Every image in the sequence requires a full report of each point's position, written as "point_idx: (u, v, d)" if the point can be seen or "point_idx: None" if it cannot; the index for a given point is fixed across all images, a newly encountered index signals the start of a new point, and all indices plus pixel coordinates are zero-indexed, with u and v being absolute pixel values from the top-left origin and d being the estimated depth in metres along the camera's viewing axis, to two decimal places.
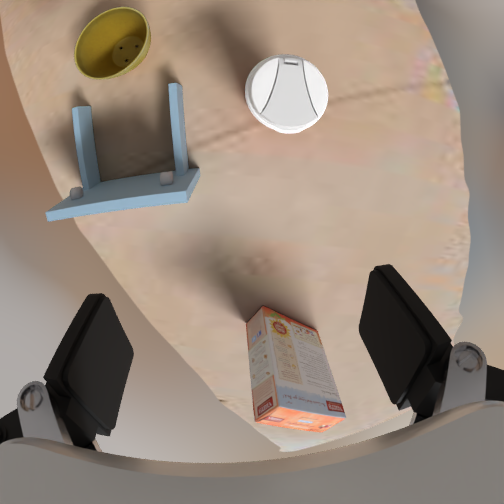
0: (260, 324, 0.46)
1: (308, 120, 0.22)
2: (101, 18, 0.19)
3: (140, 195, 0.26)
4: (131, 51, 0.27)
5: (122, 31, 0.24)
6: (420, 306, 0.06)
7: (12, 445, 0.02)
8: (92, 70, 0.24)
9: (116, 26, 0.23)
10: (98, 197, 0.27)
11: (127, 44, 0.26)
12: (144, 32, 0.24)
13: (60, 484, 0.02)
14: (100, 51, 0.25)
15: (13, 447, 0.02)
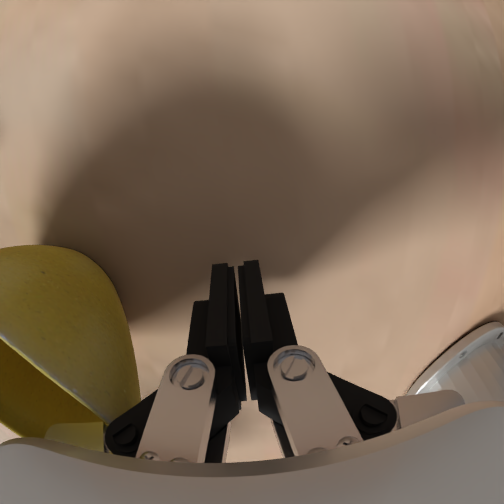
0: None
1: None
2: None
3: None
4: None
5: (118, 300, 0.10)
6: (258, 302, 0.07)
7: (12, 445, 0.02)
8: None
9: None
10: None
11: None
12: None
13: (60, 484, 0.02)
14: None
15: (13, 447, 0.02)
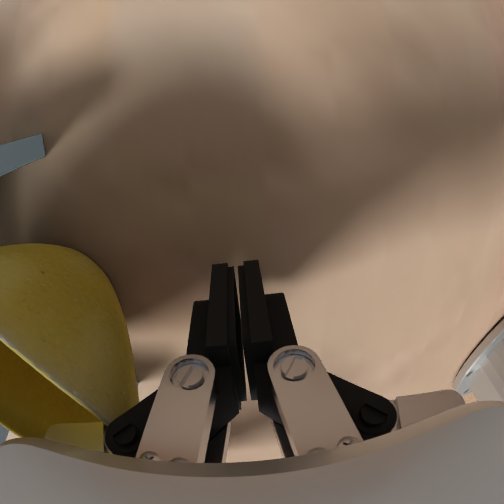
0: None
1: None
2: None
3: None
4: None
5: (117, 300, 0.10)
6: (258, 302, 0.07)
7: (12, 445, 0.02)
8: None
9: None
10: None
11: None
12: None
13: (60, 484, 0.02)
14: None
15: (13, 447, 0.02)
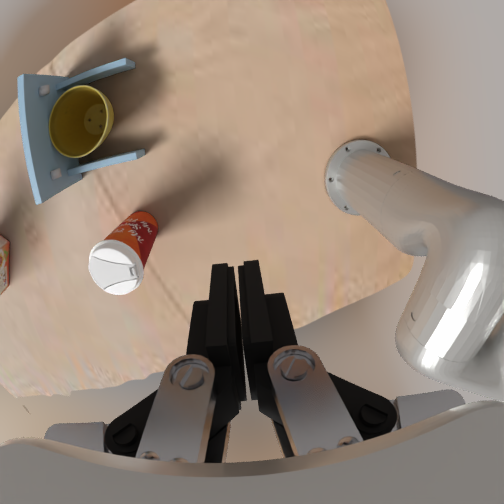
0: None
1: (98, 284, 0.31)
2: None
3: (34, 166, 0.25)
4: (97, 122, 0.33)
5: None
6: (259, 302, 0.07)
7: (12, 445, 0.02)
8: (67, 103, 0.27)
9: None
10: (36, 120, 0.23)
11: (103, 117, 0.33)
12: None
13: (60, 484, 0.02)
14: (94, 97, 0.30)
15: (13, 447, 0.02)
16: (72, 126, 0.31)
